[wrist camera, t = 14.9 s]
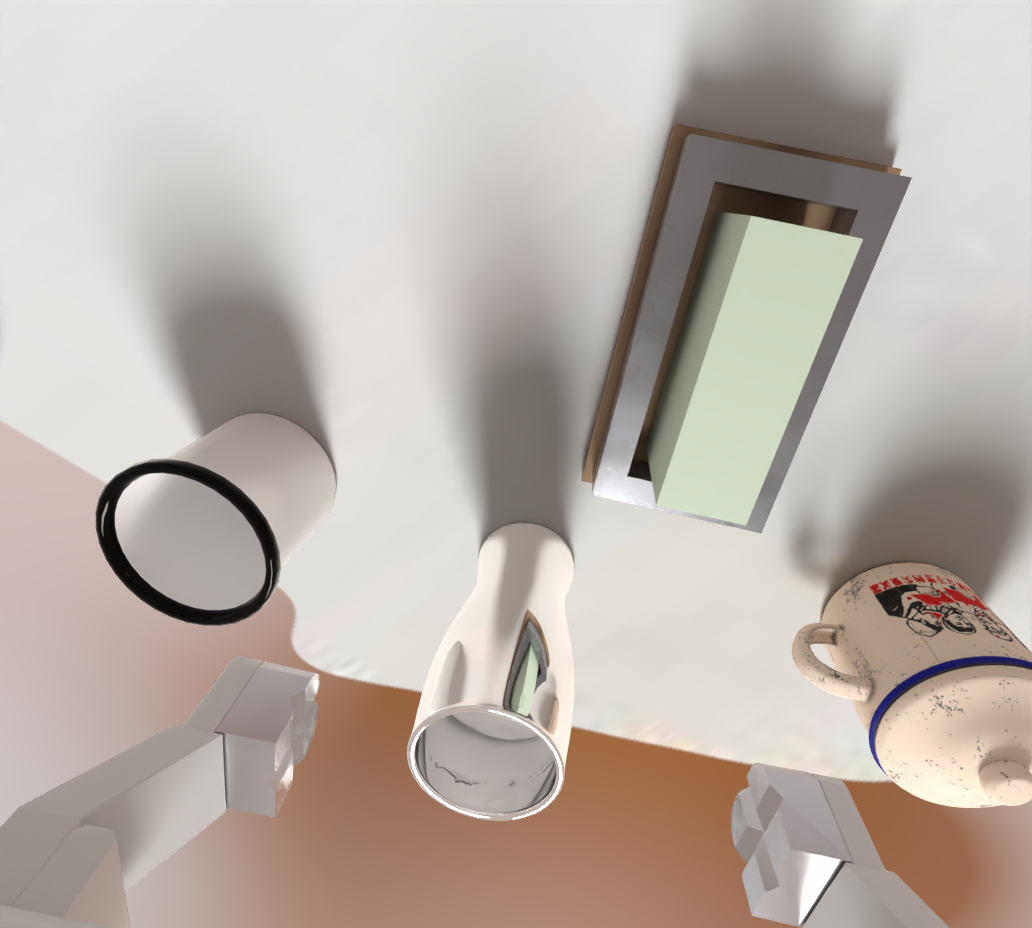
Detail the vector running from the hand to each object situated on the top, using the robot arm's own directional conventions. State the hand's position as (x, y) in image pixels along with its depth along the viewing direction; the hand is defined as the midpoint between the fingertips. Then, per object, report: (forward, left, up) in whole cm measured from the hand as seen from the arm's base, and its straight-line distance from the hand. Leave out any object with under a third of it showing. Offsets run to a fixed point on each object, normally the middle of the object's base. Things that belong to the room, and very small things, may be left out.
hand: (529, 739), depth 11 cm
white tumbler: (0, -12, -24) cm, 27 cm away
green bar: (+6, +4, -23) cm, 24 cm away
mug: (-17, -11, -24) cm, 32 cm away
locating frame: (+7, +4, -24) cm, 25 cm away
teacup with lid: (+21, -10, -24) cm, 33 cm away
